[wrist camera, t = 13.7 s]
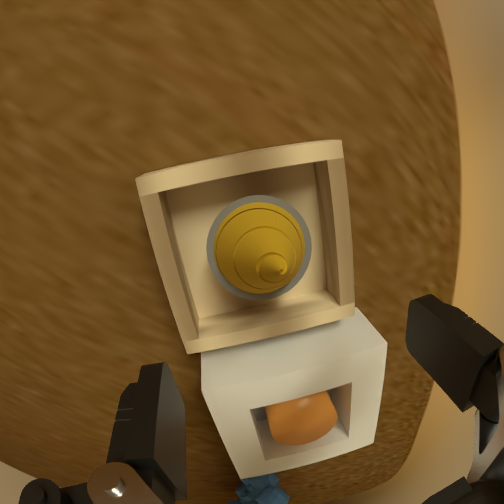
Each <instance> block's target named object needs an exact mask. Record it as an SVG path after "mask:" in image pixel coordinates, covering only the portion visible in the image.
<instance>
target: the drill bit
mask: <svg viewBox="0 0 504 504" xmlns="http://www.w3.org/2000/svg"><path fill="white" fill-rule="evenodd" d="M206 251H207V260H208V263H209V266H210V269H211V271H212V273H213V274H214V276H215V278H216V279H217V280H218V282H219V283H220V284H221V285H222V286H223V287H224V288H225V289H227V290H228V291H229V292H231V293H233V294H235V295H237V296H239V297H241V298H245V299H249V300H268V299H272V298H275V297H278V296H281V295H283V294H284V293H286V292H288V291H289V290H291V289H292V288H293V287H294V286H295V285H297V283H298V282H299V281H300V280H301V278H302V277H303V276H304V274H305V272H306V270H307V268H308V265H309V262H310V259H311V251H312V243H311V236H310V232H309V229H308V226H307V224H306V222H305V220H304V219H303V217H302V216H301V215H300V214H299V212H298V211H297V210H296V209H295V208H293V207H292V206H291V205H290V204H288V203H287V202H285V201H283V200H281V199H278V198H275V197H272V196H266V195H253V196H247V197H244V198H241V199H238V200H236V201H235V202H233V203H231V204H229V205H228V206H227V207H226V208H224V209H223V210H222V211H221V212H220V213H219V215H218V216H217V217H216V218H215V220H214V222H213V224H212V226H211V228H210V230H209V234H208V237H207V246H206Z"/></svg>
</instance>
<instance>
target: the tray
mask: <svg viewBox="0 0 504 504" xmlns="http://www.w3.org/2000/svg"><path fill="white" fill-rule="evenodd" d="M135 180H136V184H137V188H138V193H139V197H140V201H141V205H142V209H143V213H144V217H145V221H146V225H147V228H148V232H149V236H150V239H151V243H152V247H153V250H154V254H155V257H156V261H157V264H158V267H159V271H160V274H161V277H162V281H163V284H164V287H165V290H166V294H167V297H168V300H169V303H170V306H171V309H172V312H173V315H174V318H175V321H176V324H177V327H178V330H179V333H180V335H181V338H182V341H183V344H184V347H185V349H186V352H187V354H193V353H198V352H203V351H209V350H214V349H219V348H224V347H229V346H234V345H239V344H243V343H248V342H253V341H257V340H262V339H266V338H270V337H275V336H279V335H283V334H287V333H291V332H295V331H299V330H303V329H307V328H311V327H315V326H318V325H322V324H326V323H330V322H333V321H337V320H340V319H344V318H347V317H351V316H354V315H355V302H354V271H353V251H352V236H351V222H350V210H349V200H348V190H347V180H346V172H345V164H344V156H343V148H342V141H341V140H319V141H311V142H303V143H296V144H289V145H282V146H276V147H269V148H263V149H257V150H252V151H246V152H240V153H235V154H230V155H225V156H220V157H215V158H210V159H205V160H200V161H196V162H191V163H187V164H182V165H178V166H174V167H169V168H165V169H161V170H157V171H153V172H149V173H146V174H143V175H141V176H139V177H137V178H135ZM253 195H266V196H272V197H275V198H278V199H281V200H283V201H285V202H287V203H288V204H290V205H291V206H292V207H293V208H295V209H296V210H297V211H298V212H299V214H300V215H301V216H302V217H303V219H304V220H305V222H306V224H307V226H308V229H309V232H310V236H311V243H312V251H311V259H310V262H309V265H308V268H307V270H306V272H305V274H304V276H303V277H302V278H301V280H300V281H299V282H298V283H297V285H295V286H294V287H293V288H292V289H291V290H289V291H288V292H286V293H284V294H283V295H281V296H278V297H275V298H272V299H268V300H249V299H245V298H241V297H239V296H237V295H235V294H233V293H231V292H229V291H228V290H227V289H225V288H224V287H223V286H222V285H221V284H220V283H219V282H218V280H217V279H216V278H215V276H214V274H213V273H212V271H211V269H210V266H209V263H208V260H207V251H206V246H207V237H208V234H209V230H210V228H211V226H212V224H213V222H214V220H215V218H216V217H217V216H218V215H219V213H220V212H221V211H222V210H223V209H224V208H226V207H227V206H228V205H229V204H231V203H233V202H235V201H236V200H238V199H241V198H244V197H247V196H253Z"/></svg>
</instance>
